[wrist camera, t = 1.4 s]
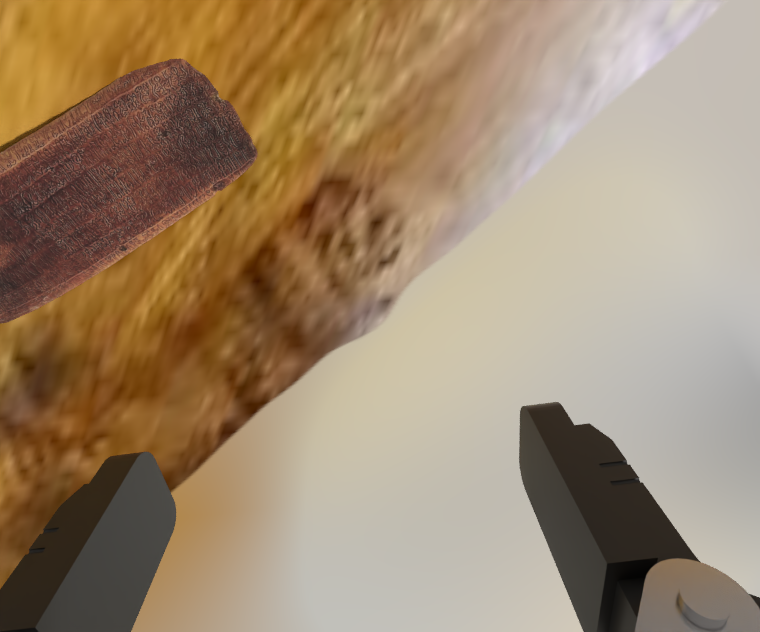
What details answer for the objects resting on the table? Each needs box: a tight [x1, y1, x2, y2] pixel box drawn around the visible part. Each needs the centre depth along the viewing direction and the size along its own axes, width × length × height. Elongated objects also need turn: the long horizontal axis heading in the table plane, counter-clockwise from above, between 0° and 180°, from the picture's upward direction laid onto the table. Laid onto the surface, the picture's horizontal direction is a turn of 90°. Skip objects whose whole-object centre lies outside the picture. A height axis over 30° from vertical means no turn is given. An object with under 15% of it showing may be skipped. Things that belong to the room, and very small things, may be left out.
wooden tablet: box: [0, 59, 257, 323], centre depth 33 cm, size 26×2×10 cm
